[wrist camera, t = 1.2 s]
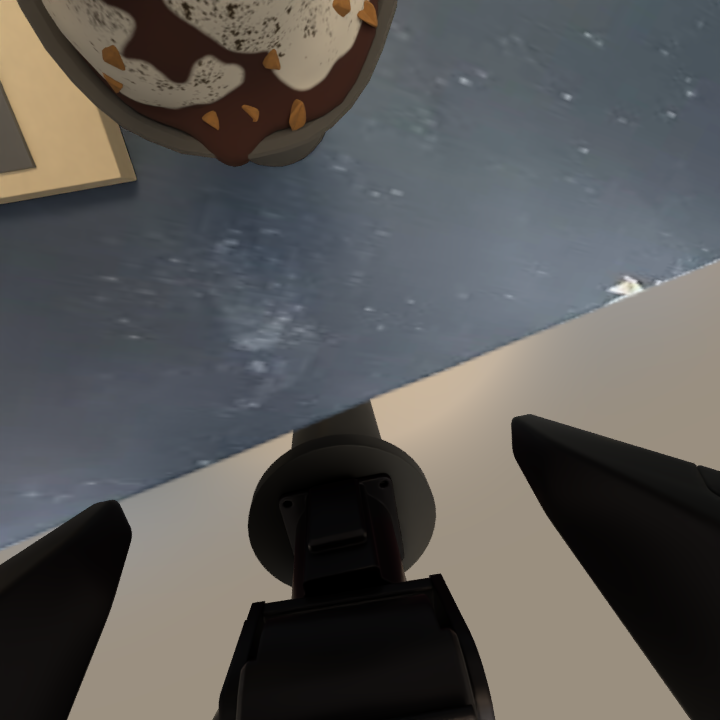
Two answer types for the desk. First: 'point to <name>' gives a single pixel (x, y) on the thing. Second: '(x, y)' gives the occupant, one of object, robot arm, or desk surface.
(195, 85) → the sundae
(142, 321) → the desk surface
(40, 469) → the desk surface
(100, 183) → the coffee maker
